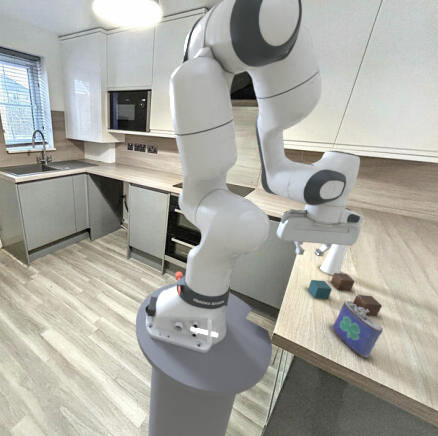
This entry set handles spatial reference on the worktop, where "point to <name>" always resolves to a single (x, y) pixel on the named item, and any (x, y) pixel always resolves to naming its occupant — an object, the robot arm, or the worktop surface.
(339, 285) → the walnut block far
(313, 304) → the worktop surface
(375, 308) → the walnut block near
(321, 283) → the teal block
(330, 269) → the cosmetic bottle
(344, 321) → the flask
